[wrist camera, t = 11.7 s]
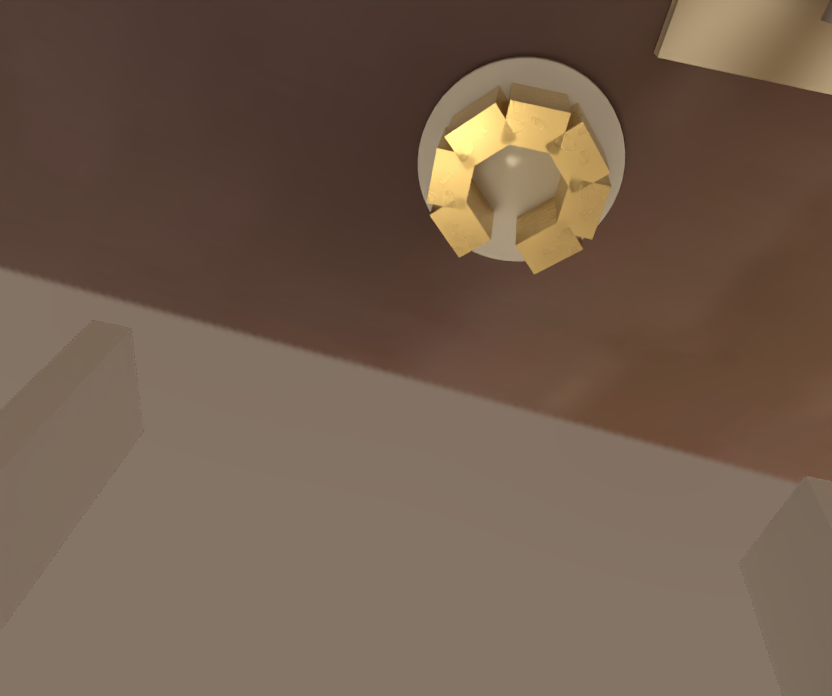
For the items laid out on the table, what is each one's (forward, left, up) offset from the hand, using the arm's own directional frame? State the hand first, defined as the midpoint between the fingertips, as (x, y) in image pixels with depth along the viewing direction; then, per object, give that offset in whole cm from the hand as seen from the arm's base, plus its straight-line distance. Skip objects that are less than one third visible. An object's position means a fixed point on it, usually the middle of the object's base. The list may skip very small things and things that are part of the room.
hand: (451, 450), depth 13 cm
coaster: (+1, 0, -19) cm, 19 cm away
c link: (+1, 0, -19) cm, 19 cm away
